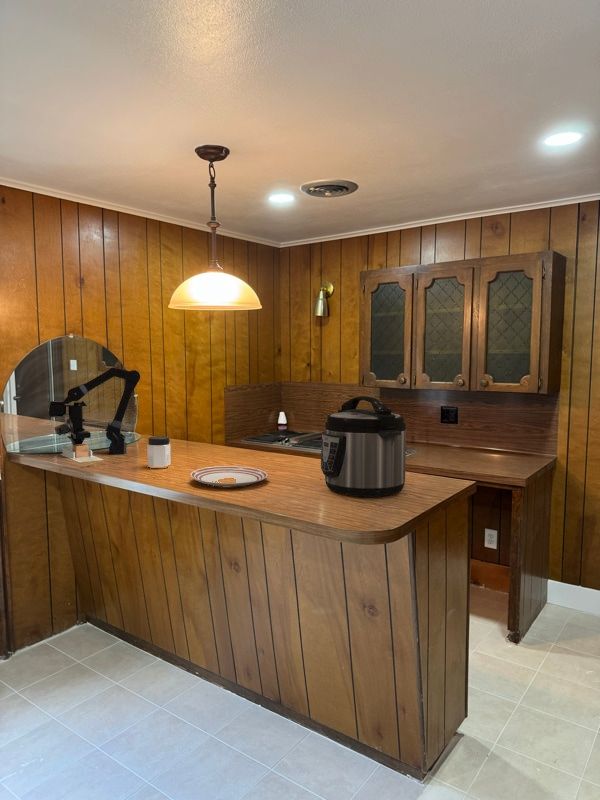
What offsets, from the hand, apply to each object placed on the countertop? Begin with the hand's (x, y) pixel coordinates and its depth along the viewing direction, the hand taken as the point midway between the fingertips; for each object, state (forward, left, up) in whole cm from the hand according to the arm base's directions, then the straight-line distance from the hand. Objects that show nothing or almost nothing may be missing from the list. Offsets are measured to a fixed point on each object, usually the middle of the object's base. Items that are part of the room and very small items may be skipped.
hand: (76, 452), depth 239 cm
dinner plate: (-74, +36, -3) cm, 83 cm away
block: (-4, +4, -1) cm, 5 cm away
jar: (-41, +14, -3) cm, 44 cm away
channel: (-4, +4, -2) cm, 7 cm away
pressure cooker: (-121, +43, -3) cm, 129 cm away
